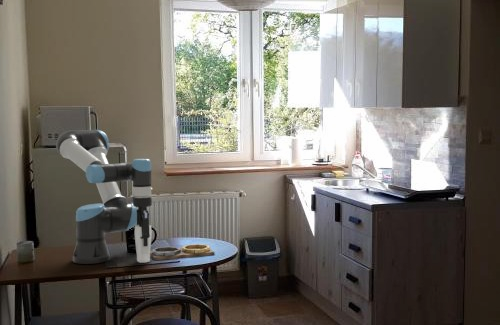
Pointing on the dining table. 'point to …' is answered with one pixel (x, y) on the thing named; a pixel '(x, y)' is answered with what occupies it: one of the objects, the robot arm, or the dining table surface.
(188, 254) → the walnut board
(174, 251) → the near collar
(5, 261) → the dining table surface
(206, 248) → the far collar
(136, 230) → the drinking glass
